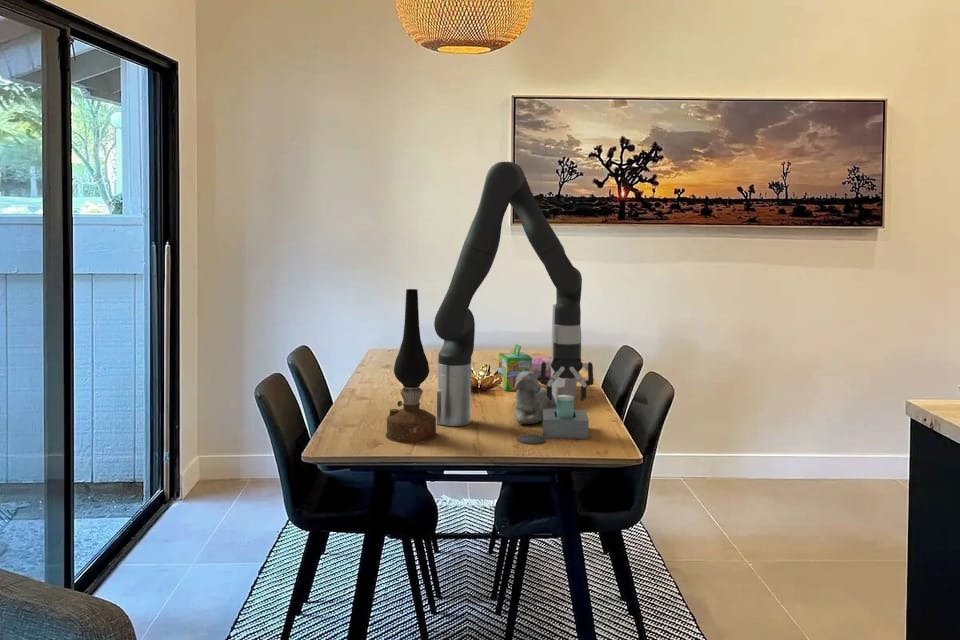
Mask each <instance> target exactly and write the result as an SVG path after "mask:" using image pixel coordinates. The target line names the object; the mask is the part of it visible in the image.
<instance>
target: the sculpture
mask: <svg viewBox="0 0 960 640" xmlns="http://www.w3.org/2000/svg"><path fill="white" fill-rule="evenodd" d="M514 389H515V390H516V398H515V400H516V401H515V412H514V415H515V418H516V422H517V423H518V424H519V425H531V424H533V425H534V424H537V423H540V422H541V421H543V409H557V405H556V402H555V399H554V397H553V395H552V400H549V398H547V387H546V388H545V387H543V386H542V385H541V383H540V382H539V378H537V376H536V375H535V373H534V372H529V371H524V372H520V373H519V374H518V376H517V378H516V383H515V387H514Z"/></svg>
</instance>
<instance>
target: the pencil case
mask: <svg viewBox="0 0 960 640" xmlns="http://www.w3.org/2000/svg"><path fill="white" fill-rule="evenodd" d="M542 361H545V362H550V363H551V355H549V356H537V357H532V369H531V372H534V373H535V375H536V376H537V378H538V379H540V377H541V363H542ZM550 377H551V367H549V369H548V370H546V372H545V379H546V380H549V379H550Z"/></svg>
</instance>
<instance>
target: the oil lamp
mask: <svg viewBox="0 0 960 640" xmlns="http://www.w3.org/2000/svg"><path fill="white" fill-rule="evenodd" d="M404 305H405V306H404V307H405V308H404V326H403V336H402V340H401V343H400V347H399V350H398V354H397V356H396V358H395V361H394V368H393V374H394V376H395V378H396V379H397V381H398V382H399V383H401V384H402V386H403V388H402V389H400V391H399V392H400V395H401V398H402V400H403V401H402V400H398V401H397V404H396V405H397V407H399V408H400V407H402V406H403V408H400V409H397V408H392V409H389V415H387V417H386V433H385V438H386V439H387V440H389V441H392V442H396V443H397V442H398V443H402V444H403V443H404V444H406V443H407V444H413V443H415V444H416V443H425V442H430V441H433V440H435V439H436V438H437V437H438V434H437V416H436V415H434V414H433V413H431V412H429V411H428V410H426V409H424V408H420V405H421V403H420V400H421V398H422V395H423V393H424V390H423V389H422V388H421V387H420V386H421V385H422V384H423V383H424V382H425V381H426V380H427V378H428V377H429V374H430V365H429V361H428V358H427V356H426V354H425V351H424V347H423V344H422V340H421V331H420V330H421V329H420V318H419V312H420V311H419V291H418V289H417V288H407V289H406V290H405V304H404Z"/></svg>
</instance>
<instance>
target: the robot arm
mask: <svg viewBox="0 0 960 640" xmlns="http://www.w3.org/2000/svg"><path fill="white" fill-rule="evenodd" d="M509 205H510V206H511V207H512V209H513V210H514V212H515V213H516V215H517V217H518V219H519V220H520V223H521V225H522V228H523V231H524V233H525V236H526V238H527V241H528V242H529V244H530V245H531V247H532V249H533V251H534V252H535V253H536V256H537V257H538V259H539V261H541V263H542V264H543V266H544V268H545V270H546V272H547V274H548V276H549V278H550V281H551V283H552V284H553V285H554V287H555V289H556V302H555V304H556V305H555V313H554V314H555V316H554V331H553V361H552V363H550V362H545V361H542V363H541V377H540V378H539V379H540V380H539V384H540V385H543V386H546V389H547V398H549V400H552V384H553V383H554V381H556V379H557V378H558V377H560V378H570V379H573V378H574V377H576V379H577V382H579V384H580V401H581V402H583V401H584V400H585V399H586V398H587V387H588V386H592V385H593V386H594V367H593V366H594V365H593V363H592V362H591V361H588V362H582V327H581V320H582V319H581V317H582V313H581V312H582V311H581V300H582V297H581V296H582V288H583V287H582V286H583V277H582V273H581V272H580V270H579V269H577V268H576V267H574V265H573V264H572V262H571V260H570V259H569V257H568V256H567V253H566V250H565V248H564V246H563V244H562V242H561V241H560V239H559V238H558V236H557V234H556V233H555V231H554V229H553V227H552V226H551V225H550V223H549V221H548V220H547V218H546V217H545V215H544V213H543V211H542V210H541V208H540V206H539V204H538V203H537V201H536V198H535V196H534V195H533V192H532V190H531V187H530V185H529V183H528V180H527V178H526V175H525V172H524V170H523V168H521V166H520V165H519V164H517V163H515V162H513V161H499V162H497V163H493V165H492V166H491V167H490V168H489V169H488V171H487V173H486V177H485V180H484V184H483V188H482V193H481V196H480V201H479V203H478V208H477V210H476V213H475V215H474V218H473V220H472V222H471V224H470V227H469V229H468V232H467V234H466V237H465V240H464V243H463V245H462V246H461V247H462V248H461V250H460V253H459V257H458V260H457V263H456V266H455V268H454V272H453V274H452V278H451V280H450V283H449V286H448V289H447V290H446V291H447V292H446V293H445V296H444V298H443V299H442V302H441V304H440V306H439V308H438V310H437V312H436V314H435V317H434V321H433V322H434V323H433V324H434V325H433V326H434V330H435V333H436V335H437V337H439V338H440V339H441V340H443V345H442V347H441V349H440V351H439V352H438V356H437V359H438V360H437V363H438V364H437V365H438V366H437V367H438V368H437V390H436V425H441V426H448V427H460V426H461V427H462V426H468V425H469V424H470V423H471V401H472V400H471V396H472V395H471V394H472V393H471V390H472V389H471V386H472V385H471V384H472V377H471V376H472V356H473V353H474V347H475V335H476V334H475V332H476V330H475V329H476V325H475V324H476V323H475V322H476V321H475V317H474V313H473V311H471V309H470V308H469V307H470V304H471V301H472V300H473V297H474V296H475V294H476V292H477V290H478V289H479V287H480V286H481V285H482V283H483V282H484V280H485V279H486V277H487V276H488V275H489V273H490V271H491V268H492V266H493V264H494V261H495V258H496V255H497V252H498V249H499V246H500V242H501V241H500V240H501V233H502V225H503V220H504V218H505V214H506V212H507V209H508V207H509ZM549 367H552V369H553V370H554V371H555V372H554V373H553V375H552V376H551V377H550V379H546V378H545V372H546V370H548V369H549ZM583 368H584V369H585V371H587V378H588V379H587V380H585V379H584V378H583V376H582V375H581V374H580V371H581V370H582V369H583Z"/></svg>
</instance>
